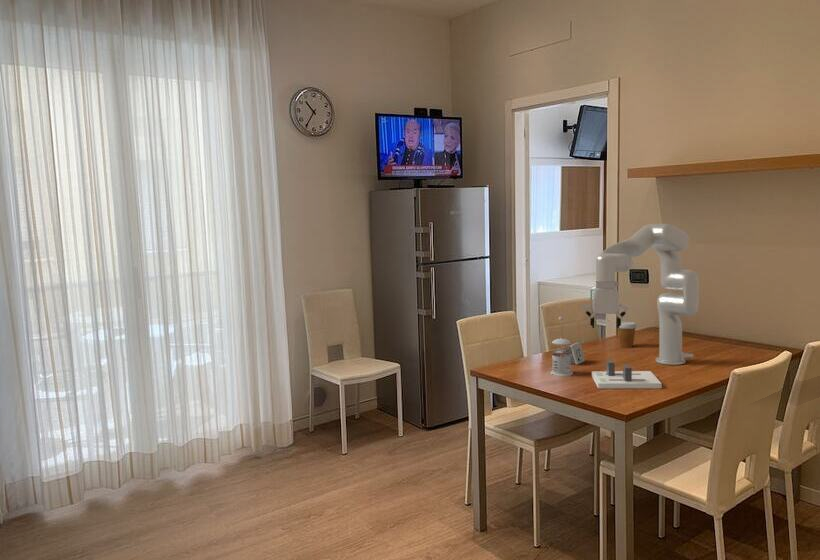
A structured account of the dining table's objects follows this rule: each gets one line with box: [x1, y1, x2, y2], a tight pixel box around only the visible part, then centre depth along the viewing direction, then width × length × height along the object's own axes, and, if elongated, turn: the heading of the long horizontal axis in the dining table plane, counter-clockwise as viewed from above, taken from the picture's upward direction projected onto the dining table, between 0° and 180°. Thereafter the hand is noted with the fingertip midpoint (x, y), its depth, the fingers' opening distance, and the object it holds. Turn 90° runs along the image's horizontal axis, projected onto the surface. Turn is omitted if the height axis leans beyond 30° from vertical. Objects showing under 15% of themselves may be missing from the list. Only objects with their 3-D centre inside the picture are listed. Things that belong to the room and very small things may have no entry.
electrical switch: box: [565, 341, 586, 366], centre depth 296 cm, size 9×5×9 cm, turn 141°
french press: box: [550, 316, 574, 377], centre depth 278 cm, size 10×12×25 cm
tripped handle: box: [622, 364, 633, 381], centre depth 256 cm, size 2×5×5 cm, turn 172°
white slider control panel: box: [591, 359, 663, 389], centre depth 260 cm, size 24×19×8 cm
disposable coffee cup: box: [617, 321, 637, 348], centre depth 324 cm, size 10×10×12 cm
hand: (605, 327), depth 258 cm, fingers open, 9 cm apart
